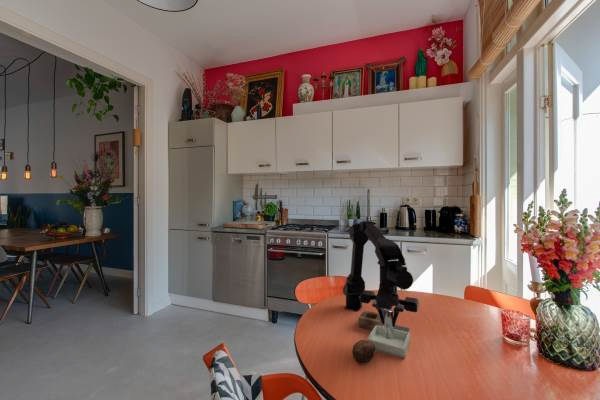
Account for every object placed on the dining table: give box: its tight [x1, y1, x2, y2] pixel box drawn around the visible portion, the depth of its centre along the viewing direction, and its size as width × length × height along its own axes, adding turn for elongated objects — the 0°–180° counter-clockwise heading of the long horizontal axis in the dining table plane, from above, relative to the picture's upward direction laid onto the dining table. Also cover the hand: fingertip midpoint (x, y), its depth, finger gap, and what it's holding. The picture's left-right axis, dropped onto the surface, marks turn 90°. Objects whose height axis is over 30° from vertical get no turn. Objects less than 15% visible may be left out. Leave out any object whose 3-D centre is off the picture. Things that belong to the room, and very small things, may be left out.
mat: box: [393, 324, 410, 333], centre depth 103 cm, size 7×7×1 cm
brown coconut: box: [351, 339, 376, 365], centre depth 84 cm, size 8×8×6 cm
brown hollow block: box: [357, 310, 384, 332], centre depth 107 cm, size 8×8×4 cm
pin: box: [383, 309, 394, 339], centre depth 93 cm, size 3×3×9 cm
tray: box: [366, 325, 411, 359], centre depth 93 cm, size 12×12×3 cm
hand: (388, 325), depth 93 cm, fingers closed on pin, 3 cm apart
